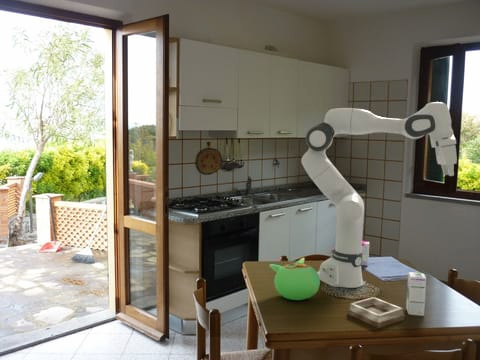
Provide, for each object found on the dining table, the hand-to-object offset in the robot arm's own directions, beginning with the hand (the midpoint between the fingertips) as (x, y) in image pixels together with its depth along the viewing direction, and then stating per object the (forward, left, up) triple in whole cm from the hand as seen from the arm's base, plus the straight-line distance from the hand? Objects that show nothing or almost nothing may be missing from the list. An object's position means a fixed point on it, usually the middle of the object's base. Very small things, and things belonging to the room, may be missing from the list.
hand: (448, 175), depth 186 cm
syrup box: (+7, -27, -50) cm, 57 cm away
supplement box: (-44, +4, -50) cm, 67 cm away
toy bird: (-27, -55, -50) cm, 79 cm away
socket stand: (+2, -43, -50) cm, 65 cm away
